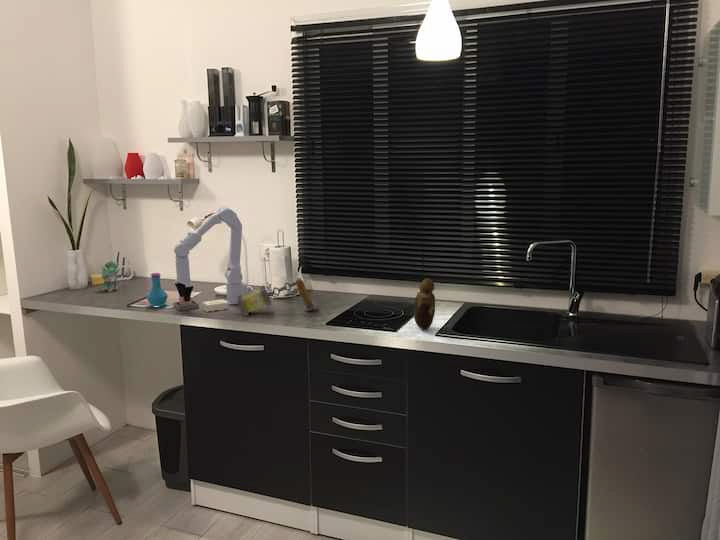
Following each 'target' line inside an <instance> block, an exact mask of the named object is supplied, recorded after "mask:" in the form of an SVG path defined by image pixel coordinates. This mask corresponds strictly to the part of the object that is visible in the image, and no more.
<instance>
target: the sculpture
mask: <svg viewBox="0 0 720 540" xmlns="http://www.w3.org/2000/svg"><path fill="white" fill-rule="evenodd" d="M434 290H435V283H434V282H433V280H432V279H431V278H424V279H423V280H422V281H421V282H420V285H419V291H418V292H417V294H416V296H415V299H414V300H415V301H414V307H413V318H414V321H415V324H416V325H417V327H418V328H420V329H422V330H427V329H429V328H430V327H431V326H432V324H433V322H434V317H435V314H436V313H435V312H436V296H435V293H433V292H434Z"/></svg>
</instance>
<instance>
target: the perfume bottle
mask: <svg viewBox="0 0 720 540" xmlns="http://www.w3.org/2000/svg"><path fill="white" fill-rule="evenodd" d="M161 276H162V274H161V273H159V272H153V273H151V274H150V278H151V286H152V288H151V289H150V291H148V293H147V295H146V300H147V301H148V304H150V305H151V306H163V305H165V306H166V302H167V300H168V296H169V294H168V293H167V291H165V289H163V287H162V286H161ZM151 306H150V307H151ZM163 307H164V306H163Z"/></svg>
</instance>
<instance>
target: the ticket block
mask: <svg viewBox="0 0 720 540" xmlns="http://www.w3.org/2000/svg"><path fill="white" fill-rule="evenodd" d="M225 300H226V299H224V298H223V299H216V300H208V301H202V302H200V308H201V310H202V311H204V312H205V311H206V312H205V313H209V311H211V312H216V311H215V310H218V311H224V309H225V310H229V304H228V302H226V301H225Z"/></svg>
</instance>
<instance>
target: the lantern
mask: <svg viewBox="0 0 720 540" xmlns="http://www.w3.org/2000/svg"><path fill="white" fill-rule="evenodd" d="M287 285H288V287H289V288H288V287H287ZM295 286H296V287H297V290H298V292H299V294H300V296H301V298H302V300H303V303H304V306H303V309H304V312H305V313H306V312H310V311H312V310H315V309H316V308H317V307H318V306H317V304H316V302H312V300H311V297H310V295H309V293H308V290H307V287H306V285H305V284H304V281H303V280H302V278H301V277H299V278H296V279H295V281H294V282H292V283H288V282H285V283H284V285H283V286H281V287H280V288H278V287H277V286H276V287H275V286H274V288H273V290H272V291H270V292H269V293H268V291H267V289H266V287H265V285H261V286H260V287H259V289H257V290H255V291H252V292H250V293H248V294H247V295H245V296H243V297H242V295H240V296H237V301H238V306H239V308H240V311H241V312H242V315H243V316H244V317H246V315H247V316H249V313H250V312H252V311H255V310H257V309H259V308H262V307H264V306H266V307H270V306H272V300H271V298H270V297H272V296H273V295H275V296H277V297H279V296H280V294H281V292H283V291H288V292H291V289H292V287H295ZM275 290H277V293H276V291H275Z"/></svg>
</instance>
